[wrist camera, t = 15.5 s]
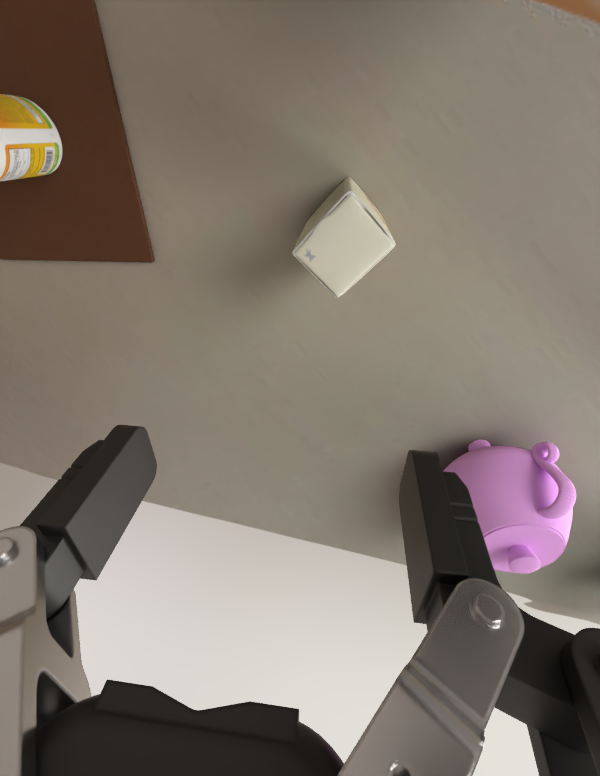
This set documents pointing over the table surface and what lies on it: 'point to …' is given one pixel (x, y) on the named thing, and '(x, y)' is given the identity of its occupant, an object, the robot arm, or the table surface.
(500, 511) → the teapot
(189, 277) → the table surface
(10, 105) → the supplement bottle
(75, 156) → the mat
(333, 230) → the box
